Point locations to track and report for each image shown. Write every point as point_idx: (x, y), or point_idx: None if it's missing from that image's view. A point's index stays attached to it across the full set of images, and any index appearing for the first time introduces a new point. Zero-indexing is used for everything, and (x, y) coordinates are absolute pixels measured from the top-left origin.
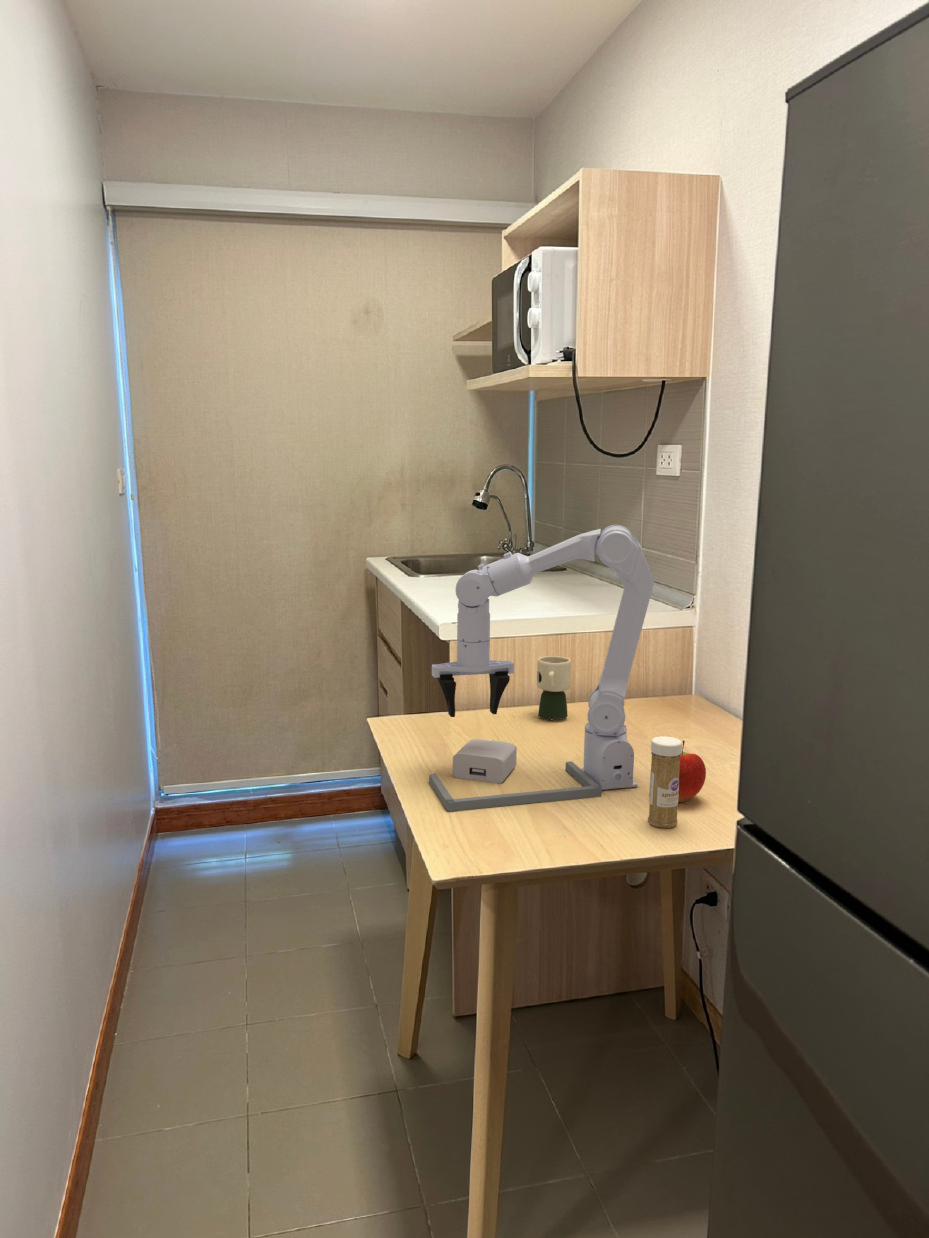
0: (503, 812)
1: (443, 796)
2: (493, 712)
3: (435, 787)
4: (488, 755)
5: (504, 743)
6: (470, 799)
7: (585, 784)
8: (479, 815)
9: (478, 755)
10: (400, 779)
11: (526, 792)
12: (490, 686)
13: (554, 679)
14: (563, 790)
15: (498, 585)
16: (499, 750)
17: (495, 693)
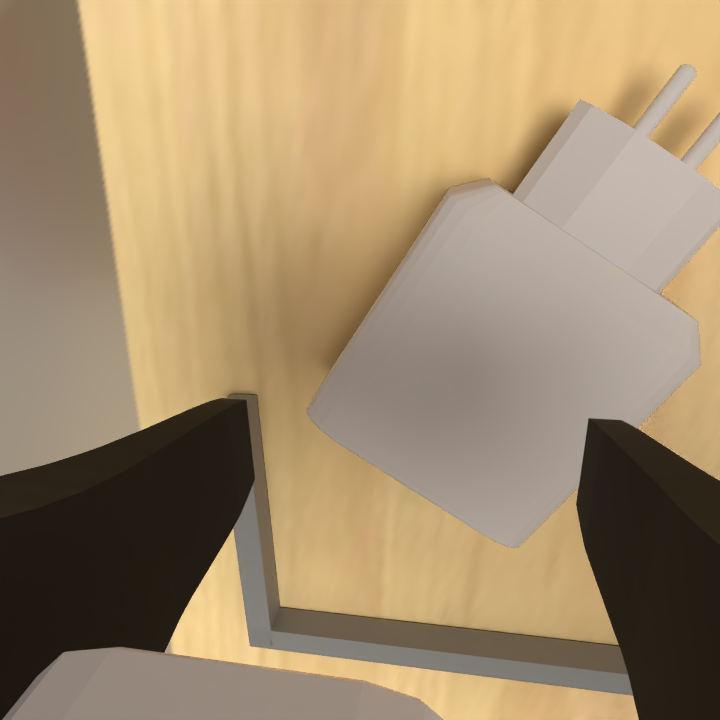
0: (422, 676)
1: (244, 603)
2: (581, 519)
3: None
4: (466, 499)
5: (635, 353)
6: (325, 648)
7: None
8: (346, 669)
9: (416, 487)
10: (127, 335)
11: (532, 664)
12: (696, 543)
13: None
14: None
15: None
16: (552, 452)
17: (639, 706)
